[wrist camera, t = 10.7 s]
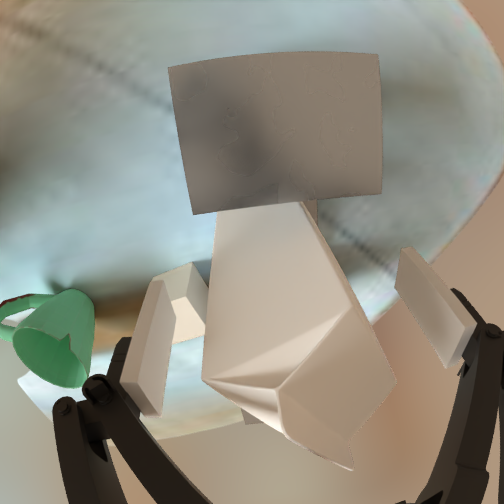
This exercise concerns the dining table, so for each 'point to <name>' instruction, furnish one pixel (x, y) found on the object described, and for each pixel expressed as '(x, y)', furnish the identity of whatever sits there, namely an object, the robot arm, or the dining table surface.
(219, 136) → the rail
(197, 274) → the block
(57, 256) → the dining table surface
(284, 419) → the milk
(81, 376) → the mug
